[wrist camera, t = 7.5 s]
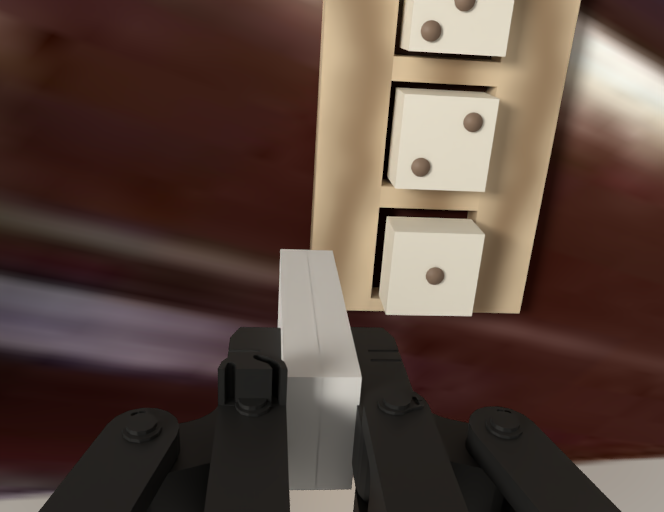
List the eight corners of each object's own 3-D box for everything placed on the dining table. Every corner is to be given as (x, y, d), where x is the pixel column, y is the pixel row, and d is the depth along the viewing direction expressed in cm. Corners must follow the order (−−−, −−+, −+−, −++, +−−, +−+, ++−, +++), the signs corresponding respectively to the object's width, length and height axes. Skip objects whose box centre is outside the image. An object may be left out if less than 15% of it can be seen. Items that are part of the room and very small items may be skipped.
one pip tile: (378, 294, 45) (386, 316, 42) (386, 216, 43) (395, 232, 40) (459, 296, 46) (472, 317, 43) (471, 219, 44) (486, 235, 41)
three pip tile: (399, 47, 40) (409, 51, 37) (409, -57, 38) (420, -61, 35) (489, 52, 41) (506, 56, 38) (504, -49, 39) (523, -53, 36)
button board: (307, 297, 48) (308, 309, 46) (327, -89, 38) (330, -94, 36) (510, 301, 49) (519, 313, 48) (580, -68, 40) (594, -72, 38)
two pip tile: (387, 176, 43) (395, 189, 40) (395, 87, 41) (405, 94, 38) (471, 179, 44) (485, 192, 41) (484, 92, 42) (500, 99, 39)
